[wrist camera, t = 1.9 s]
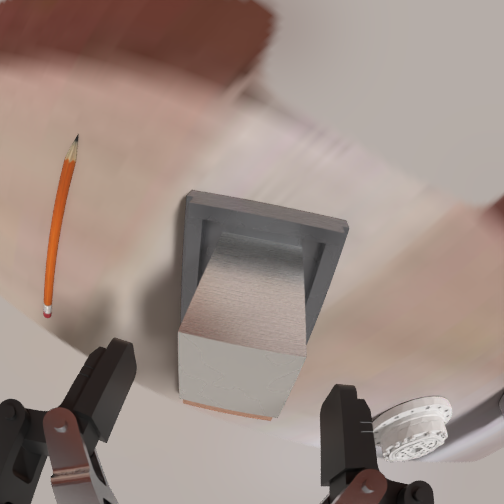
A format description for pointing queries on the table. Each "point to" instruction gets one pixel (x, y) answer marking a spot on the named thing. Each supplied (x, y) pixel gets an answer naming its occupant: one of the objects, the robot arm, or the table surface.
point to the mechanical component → (412, 428)
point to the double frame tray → (267, 228)
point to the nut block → (245, 327)
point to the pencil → (58, 224)
